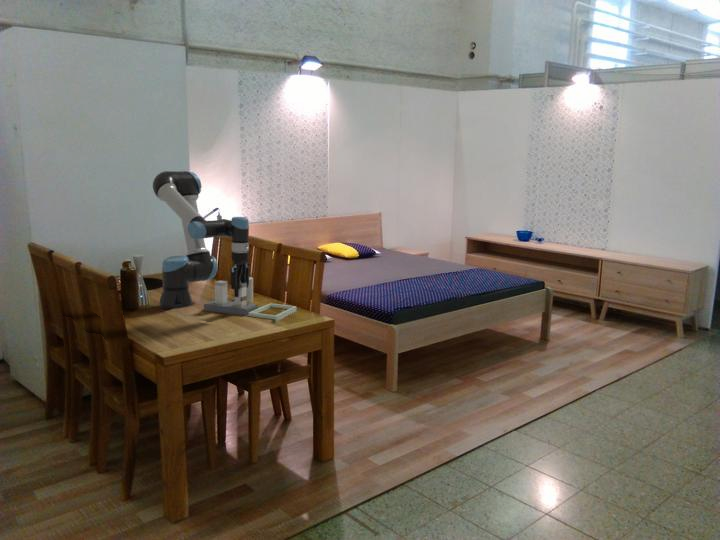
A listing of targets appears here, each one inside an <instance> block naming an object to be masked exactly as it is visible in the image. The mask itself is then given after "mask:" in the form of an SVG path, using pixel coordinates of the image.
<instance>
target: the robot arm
mask: <svg viewBox="0 0 720 540" xmlns="http://www.w3.org/2000/svg"><path fill="white" fill-rule="evenodd" d="M152 189H153V192H154V194H155V196H156V198H158V200H160V201H162V202H165V203H166V204H167V205H168V207H169V208H170V209H171V210H172V211H173V212H174V213H175V214H176V215H177V217H178V218H180V219H181V225H182V229H183V234H184V239H185V245H186V249H187V252H186V254H184V255H175V256H169V257H166V258H164V259H163V260H162V262H161V263H162V265H161V267H162V268H161V271H162V273H161V276H162V292H161V296H160V299H159V308H160V309H163V310H168V311H169V310H173V309H181V308H187V307H191V306H192V305H193V304H194V303H193V299H192V295H191V293H190V289H189V288H190V286H189V284H190V283H195V282H202V281H203V282H205V281H208V280H212V279H213V278H215V276H216V274H217V272H218V262H217V259H216V257H214V256H213V255H211V252H210V250H209V249H207V248H206V243H205V239H210V238H221V237H222V238H223V237H229V238H231V251H232V252H231V261H232V262H233V267H230V268H229V270H230V288H231V289H232V290H233V302H234V304H241V290H239V288H240V281H241V282H242V283H247V285H249V277H250V267H251V265H250V263H247V261H249V254H250V253H249V249H250V245H249V241H250V238H249V237H250V235H249V233H250V232H249V231H250V223H249V218H248V217H245V216H233V217H232V218H231V219H226V218H218V219H216V220H206V219H205V218H204V217H203V216H202V215H201V214H200V213H199V208H198V204H197V200H198V199H199V195H200V194H201V192H202V182H201V179H200V177H199V176H198V174H196V173H195V172H194V171H186V170H185V171H183V170H182V171H176V170H175V171H171V170H168V171H162V172H160V173H157V175H156V176H155V178H154V179H153V181H152ZM246 287H247V288H248V286H246Z"/></svg>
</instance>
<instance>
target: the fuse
mask: <svg viewBox="0 0 720 540" xmlns="http://www.w3.org/2000/svg"><path fill="white" fill-rule="evenodd" d="M228 282H229V281H228V280H217V281H214V297H215V298H214V300H215V304H220V305H224V304H227V301H228V284H229V283H228Z"/></svg>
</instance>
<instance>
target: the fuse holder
mask: <svg viewBox="0 0 720 540" xmlns="http://www.w3.org/2000/svg"><path fill="white" fill-rule="evenodd" d="M256 309H258V304H256V303H250V302H246V306H244V307H236V306H234V300H232V301H231V300H227V304H224V305H220V304H215V299H214V300H212V301H207V302H206V303H203V311H208V312H215V313H221V314H229V315H239V316H245V317H247V316H248V313H249V312H251V311H253V310H256Z"/></svg>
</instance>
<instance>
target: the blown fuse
mask: <svg viewBox="0 0 720 540" xmlns="http://www.w3.org/2000/svg"><path fill="white" fill-rule="evenodd" d="M246 286H247V283H242V282H240V288H239V290H241V304H234V306H236V307H244V306H246V303H247V302H246V300H247V296H246Z"/></svg>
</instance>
